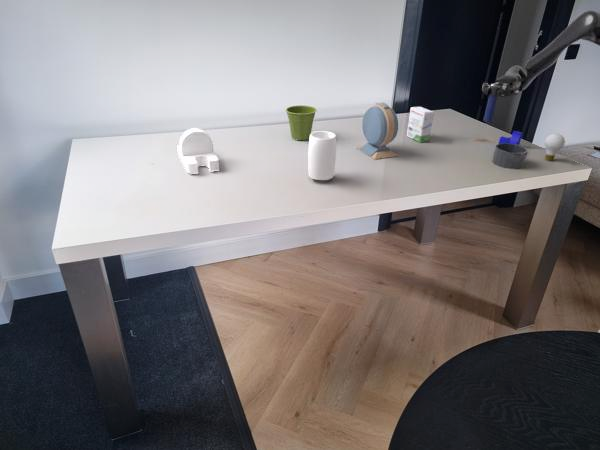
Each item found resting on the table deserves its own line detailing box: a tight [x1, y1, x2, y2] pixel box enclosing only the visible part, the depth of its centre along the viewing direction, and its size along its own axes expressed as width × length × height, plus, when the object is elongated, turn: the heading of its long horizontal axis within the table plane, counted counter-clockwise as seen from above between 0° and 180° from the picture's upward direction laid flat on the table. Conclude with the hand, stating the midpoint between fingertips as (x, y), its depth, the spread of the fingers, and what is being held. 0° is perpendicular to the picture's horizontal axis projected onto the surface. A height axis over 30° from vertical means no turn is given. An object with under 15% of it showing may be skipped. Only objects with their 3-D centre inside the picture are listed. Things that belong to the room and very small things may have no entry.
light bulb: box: [544, 133, 566, 162], centre depth 149 cm, size 6×6×10 cm
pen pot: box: [491, 143, 529, 170], centre depth 146 cm, size 10×10×6 cm
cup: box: [307, 130, 337, 181], centre depth 131 cm, size 8×8×14 cm
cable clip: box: [498, 130, 524, 145], centre depth 159 cm, size 12×4×6 cm, turn 132°
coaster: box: [471, 137, 494, 144], centre depth 168 cm, size 8×8×1 cm
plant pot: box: [285, 104, 318, 141], centre depth 165 cm, size 12×12×11 cm
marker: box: [482, 85, 501, 123], centre depth 160 cm, size 3×3×13 cm
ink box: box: [406, 106, 435, 143], centre depth 167 cm, size 8×5×12 cm, turn 27°
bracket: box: [176, 127, 220, 174], centre depth 141 cm, size 19×10×11 cm, turn 24°
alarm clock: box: [356, 102, 399, 160], centre depth 152 cm, size 14×10×18 cm
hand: (492, 92), depth 156 cm, fingers closed on marker, 3 cm apart
